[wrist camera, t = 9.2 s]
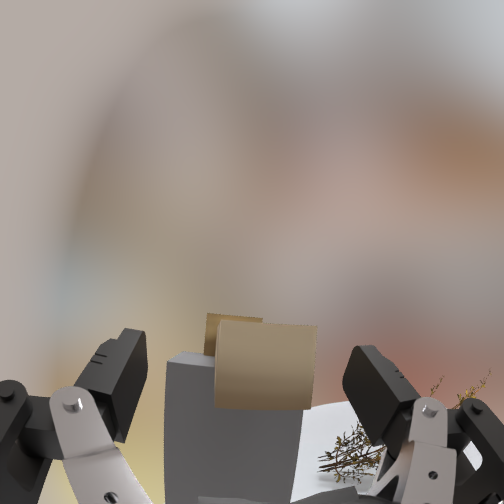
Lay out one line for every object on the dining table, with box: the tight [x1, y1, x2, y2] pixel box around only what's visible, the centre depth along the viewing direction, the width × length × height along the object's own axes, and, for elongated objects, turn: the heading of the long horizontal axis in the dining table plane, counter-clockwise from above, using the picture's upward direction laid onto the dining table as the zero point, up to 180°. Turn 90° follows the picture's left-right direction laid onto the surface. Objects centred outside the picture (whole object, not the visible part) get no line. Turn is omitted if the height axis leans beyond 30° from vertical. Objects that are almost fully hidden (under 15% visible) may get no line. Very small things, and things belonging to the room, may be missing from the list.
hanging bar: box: [204, 313, 317, 410], centre depth 16 cm, size 18×4×3 cm, turn 7°
